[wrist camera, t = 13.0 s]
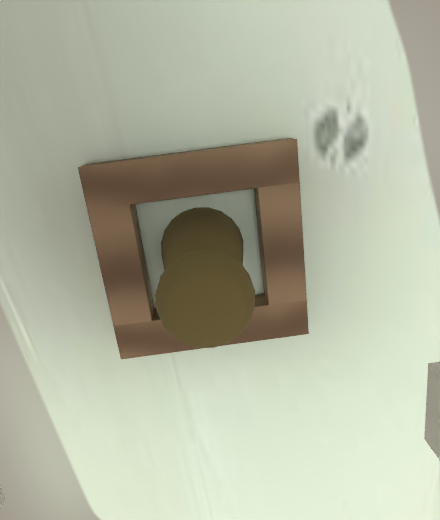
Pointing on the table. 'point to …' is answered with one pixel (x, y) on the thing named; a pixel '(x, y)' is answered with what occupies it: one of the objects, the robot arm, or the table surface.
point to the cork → (204, 280)
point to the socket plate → (187, 185)
